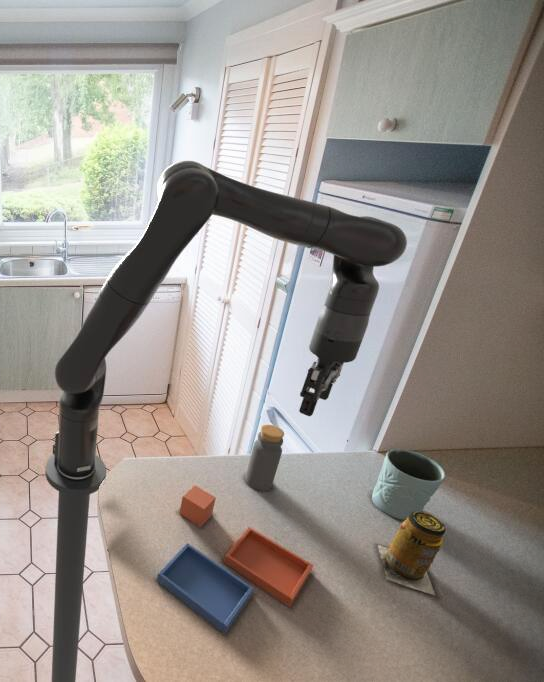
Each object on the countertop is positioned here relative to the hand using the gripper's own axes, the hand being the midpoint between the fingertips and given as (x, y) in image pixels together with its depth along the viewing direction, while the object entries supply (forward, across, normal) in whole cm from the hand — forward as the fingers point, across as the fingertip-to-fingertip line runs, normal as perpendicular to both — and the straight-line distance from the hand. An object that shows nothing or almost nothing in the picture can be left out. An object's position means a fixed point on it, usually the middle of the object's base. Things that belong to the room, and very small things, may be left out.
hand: (313, 405), depth 89 cm
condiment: (+26, -1, +23) cm, 35 cm away
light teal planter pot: (+26, -19, +18) cm, 37 cm away
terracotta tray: (+27, +18, +5) cm, 33 cm away
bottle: (+27, -4, -6) cm, 28 cm away
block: (+27, +16, -11) cm, 33 cm away
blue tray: (+27, +31, -1) cm, 41 cm away
